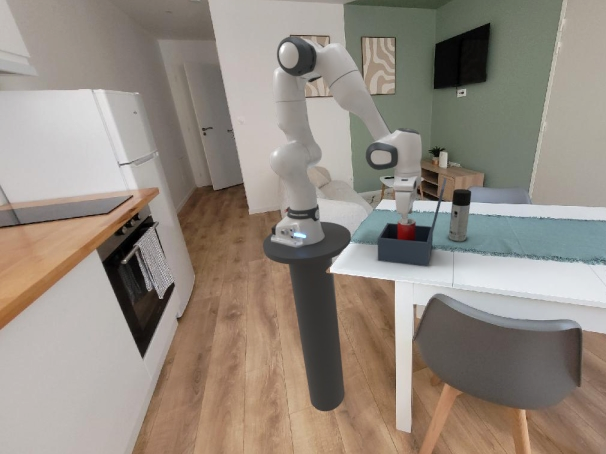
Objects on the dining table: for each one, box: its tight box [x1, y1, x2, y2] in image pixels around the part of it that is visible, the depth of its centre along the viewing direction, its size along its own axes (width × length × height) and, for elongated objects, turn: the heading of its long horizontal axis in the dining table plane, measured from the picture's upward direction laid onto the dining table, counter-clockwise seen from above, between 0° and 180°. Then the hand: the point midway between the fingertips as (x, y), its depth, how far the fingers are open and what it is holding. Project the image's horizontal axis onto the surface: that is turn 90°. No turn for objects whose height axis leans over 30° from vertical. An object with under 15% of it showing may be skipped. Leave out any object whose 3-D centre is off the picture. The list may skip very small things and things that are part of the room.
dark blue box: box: [377, 222, 434, 267], centre depth 106 cm, size 18×15×9 cm
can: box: [397, 217, 417, 241], centre depth 105 cm, size 6×6×12 cm
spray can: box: [448, 188, 472, 243], centre depth 114 cm, size 7×7×20 cm
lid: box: [428, 177, 447, 242], centre depth 98 cm, size 18×15×1 cm
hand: (407, 217), depth 102 cm, fingers open, 8 cm apart
